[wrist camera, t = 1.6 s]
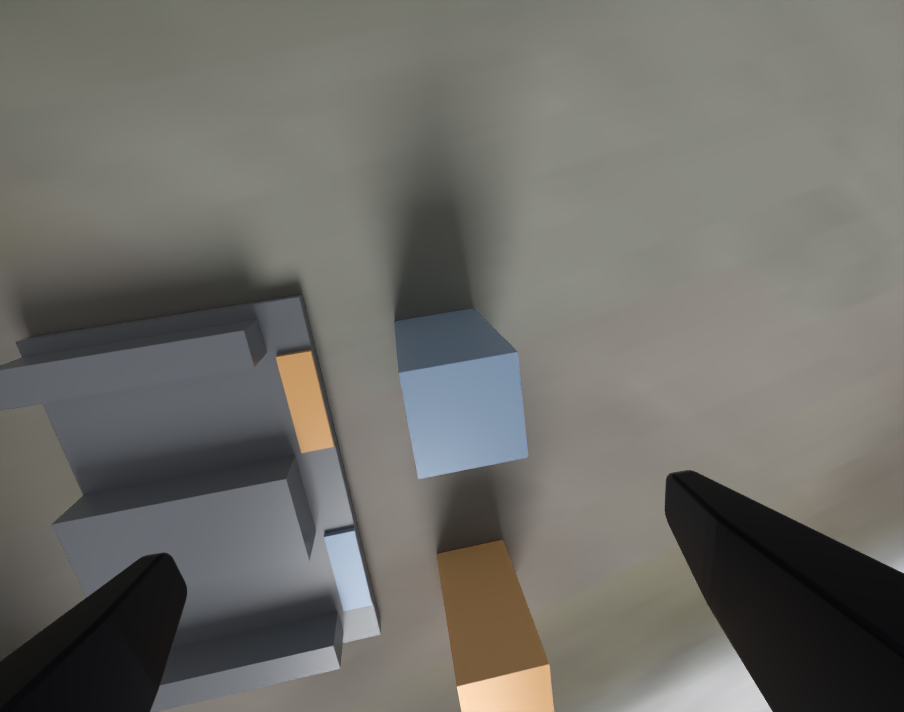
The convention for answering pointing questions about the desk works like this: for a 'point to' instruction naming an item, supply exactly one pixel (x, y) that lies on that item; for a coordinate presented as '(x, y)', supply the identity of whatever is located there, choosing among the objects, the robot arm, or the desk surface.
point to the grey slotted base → (209, 485)
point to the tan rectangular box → (492, 633)
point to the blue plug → (460, 392)
